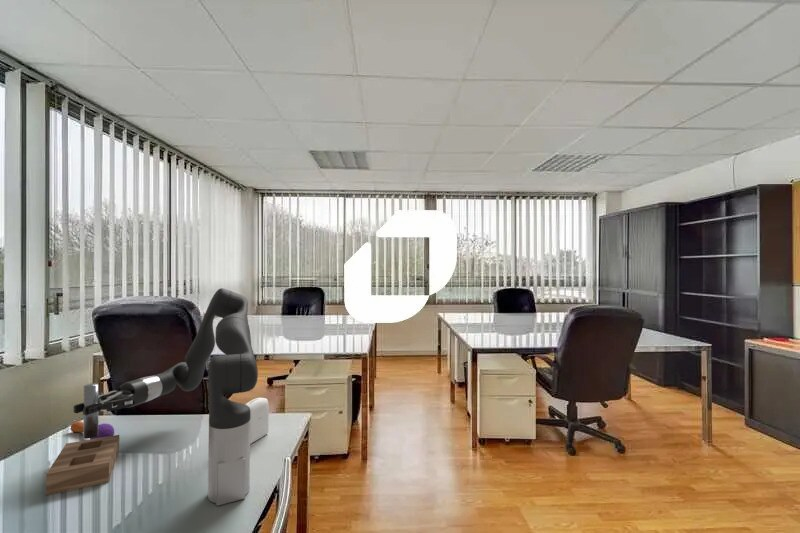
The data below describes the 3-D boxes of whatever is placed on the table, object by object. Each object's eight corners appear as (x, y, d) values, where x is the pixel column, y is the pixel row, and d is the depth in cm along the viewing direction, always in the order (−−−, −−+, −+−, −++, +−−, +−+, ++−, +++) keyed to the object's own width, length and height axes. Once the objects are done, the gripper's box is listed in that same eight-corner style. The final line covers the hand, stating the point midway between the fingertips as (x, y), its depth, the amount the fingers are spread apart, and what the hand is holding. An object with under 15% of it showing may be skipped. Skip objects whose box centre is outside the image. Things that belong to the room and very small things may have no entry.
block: (108, 482, 97) (109, 462, 97) (45, 495, 91) (46, 474, 91) (119, 451, 113) (119, 434, 113) (66, 461, 107) (66, 443, 107)
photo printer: (248, 446, 117) (248, 406, 117) (236, 444, 118) (237, 404, 118) (270, 433, 127) (271, 395, 127) (259, 431, 128) (260, 393, 128)
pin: (97, 436, 106) (97, 385, 105) (82, 439, 104) (82, 387, 104) (99, 432, 108) (99, 382, 108) (84, 434, 107) (85, 384, 107)
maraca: (89, 415, 130) (119, 423, 120) (85, 434, 128) (116, 443, 119) (67, 418, 125) (97, 426, 115) (63, 437, 123) (93, 448, 114)
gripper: (124, 376, 122) (61, 393, 106) (157, 381, 117) (97, 400, 101) (124, 400, 122) (61, 420, 106) (157, 405, 117) (97, 428, 101)
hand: (79, 410), depth 103 cm, fingers closed on pin, 3 cm apart
